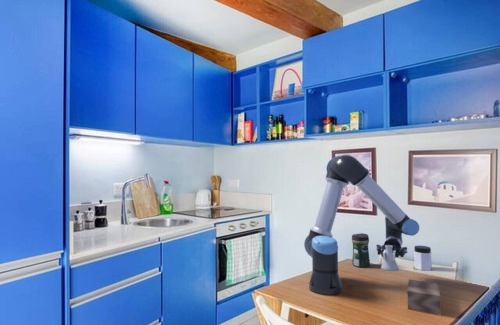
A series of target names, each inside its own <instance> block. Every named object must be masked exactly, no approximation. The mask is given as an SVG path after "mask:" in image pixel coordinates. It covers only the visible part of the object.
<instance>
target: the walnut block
mask: <svg viewBox="0 0 500 325" xmlns="http://www.w3.org/2000/svg"><path fill="white" fill-rule="evenodd" d="M406 291H407V310H411V311H416V312H422V313H427V314H428V313H429V314H434V315H439V316H441V313H442V312H441V294H440V293H441V292H440V288H439V282H432V281H423V280H416V279H410V278H409V279H408V282H407V290H406Z"/></svg>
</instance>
